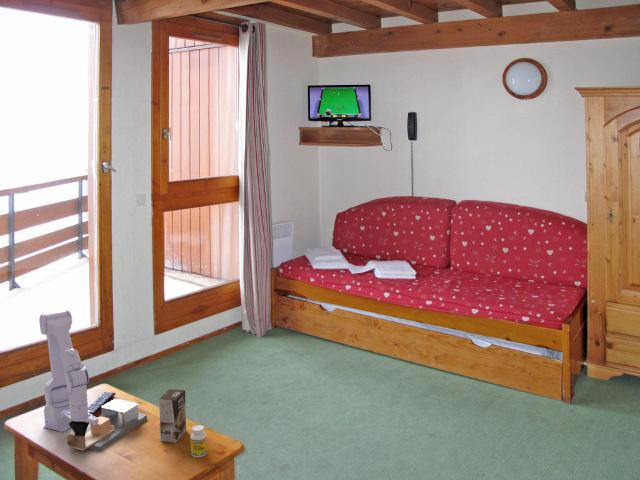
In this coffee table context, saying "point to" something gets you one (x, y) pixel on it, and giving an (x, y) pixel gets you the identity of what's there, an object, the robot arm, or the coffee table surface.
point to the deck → (116, 430)
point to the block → (101, 426)
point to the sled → (85, 439)
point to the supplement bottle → (198, 441)
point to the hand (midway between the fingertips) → (81, 440)
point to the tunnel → (121, 411)
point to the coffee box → (172, 415)
